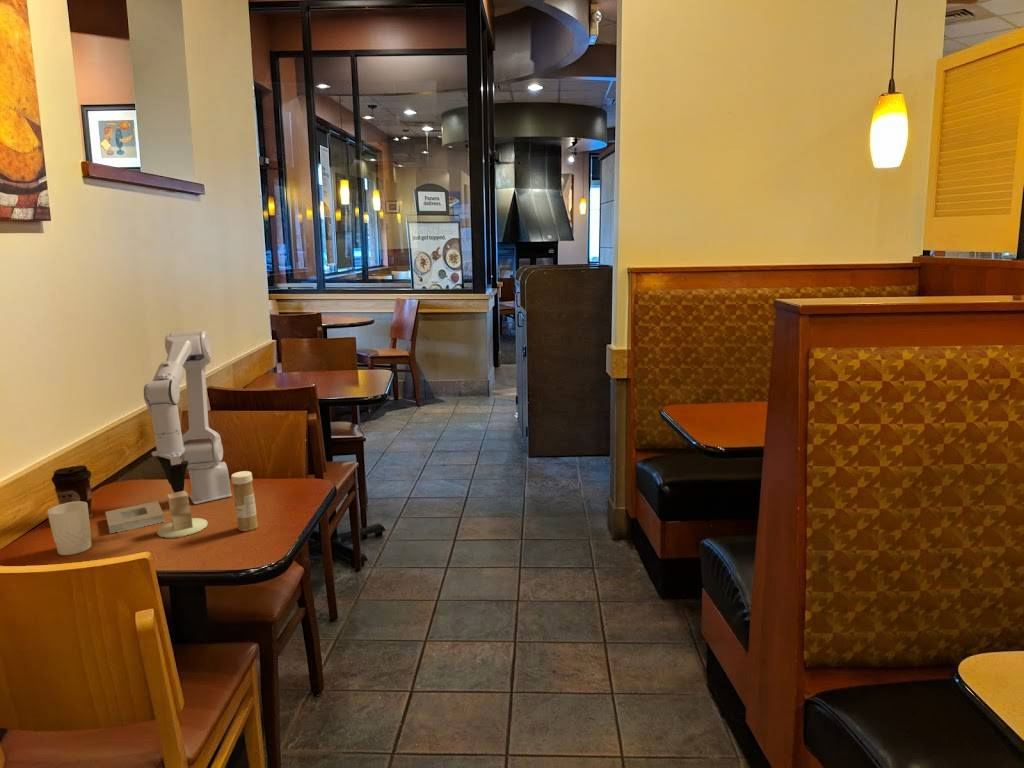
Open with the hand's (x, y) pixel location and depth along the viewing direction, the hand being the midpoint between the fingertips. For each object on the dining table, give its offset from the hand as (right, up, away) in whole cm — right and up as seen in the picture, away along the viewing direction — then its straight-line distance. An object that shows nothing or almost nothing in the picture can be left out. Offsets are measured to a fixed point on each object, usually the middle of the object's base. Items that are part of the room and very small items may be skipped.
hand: (176, 487), depth 179 cm
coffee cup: (-31, -10, +13) cm, 35 cm away
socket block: (-14, -10, +9) cm, 19 cm away
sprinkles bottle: (+17, -10, 0) cm, 20 cm away
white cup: (-20, -13, -7) cm, 25 cm away
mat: (+1, -10, +2) cm, 10 cm away
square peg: (+1, -10, +2) cm, 10 cm away
